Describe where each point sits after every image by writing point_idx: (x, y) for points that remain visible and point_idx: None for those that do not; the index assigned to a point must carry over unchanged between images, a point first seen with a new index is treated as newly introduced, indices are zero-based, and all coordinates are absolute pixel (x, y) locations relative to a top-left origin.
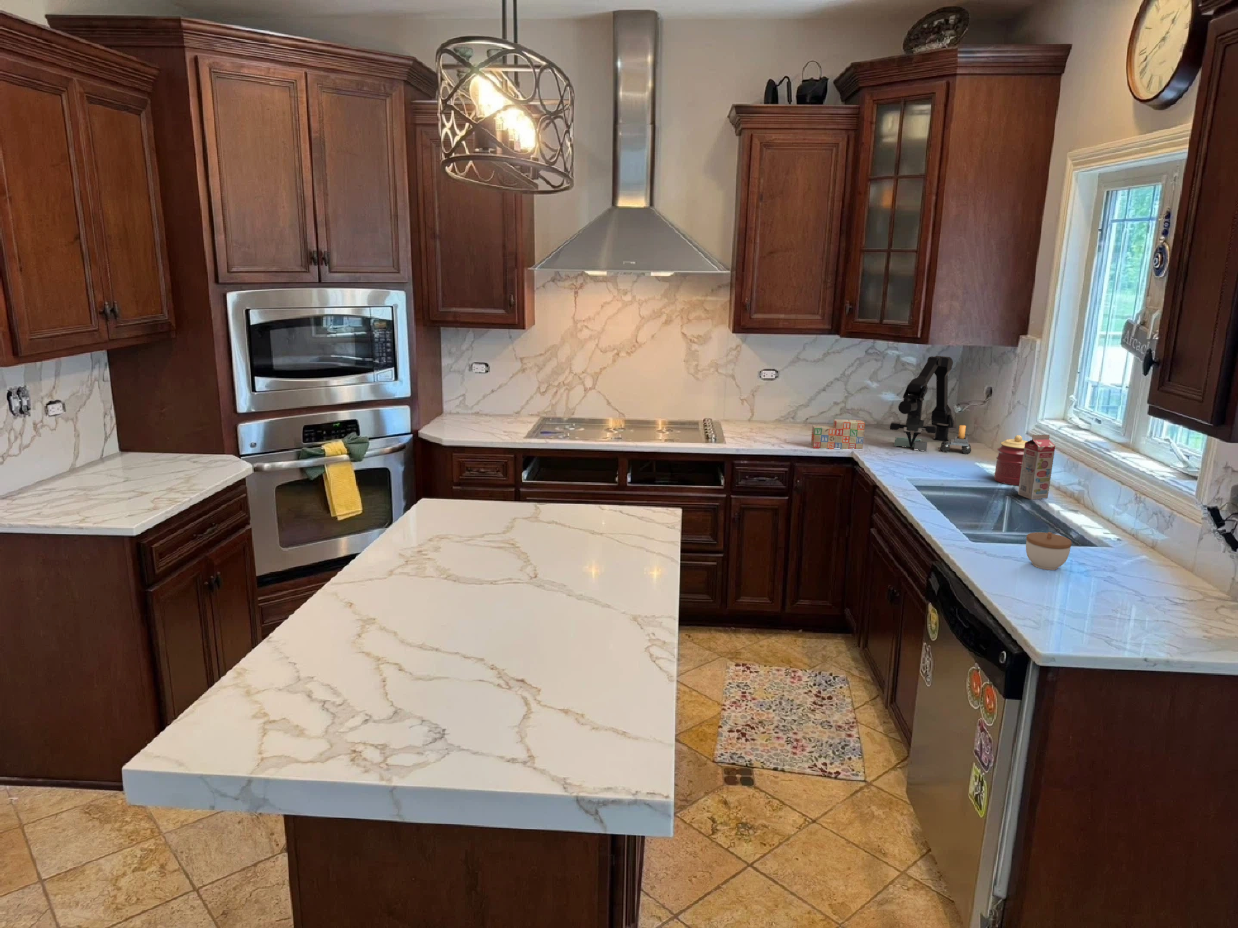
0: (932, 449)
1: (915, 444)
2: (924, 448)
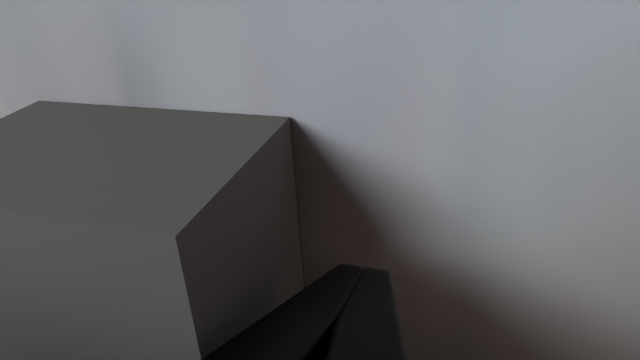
0: None
1: (185, 201)
2: (21, 131)
